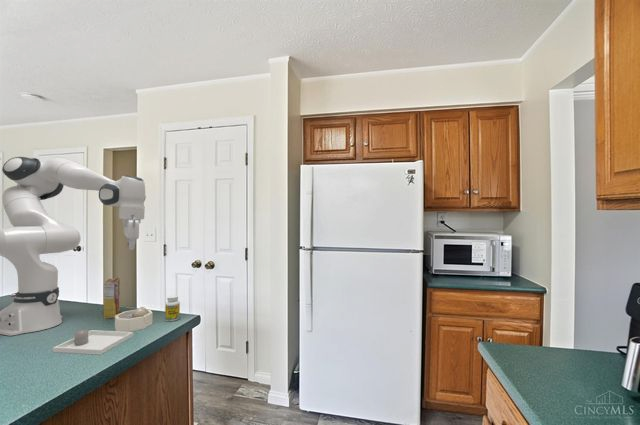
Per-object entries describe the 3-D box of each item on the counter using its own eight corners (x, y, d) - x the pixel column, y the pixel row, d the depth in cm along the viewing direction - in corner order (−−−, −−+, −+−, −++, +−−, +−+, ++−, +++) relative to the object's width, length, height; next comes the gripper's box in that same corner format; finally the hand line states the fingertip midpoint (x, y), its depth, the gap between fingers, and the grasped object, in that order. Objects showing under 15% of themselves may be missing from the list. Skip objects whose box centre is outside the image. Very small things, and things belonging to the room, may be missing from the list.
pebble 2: (129, 316, 111) (137, 309, 111) (135, 311, 115) (142, 305, 114) (136, 322, 112) (144, 316, 111) (141, 317, 115) (149, 311, 115)
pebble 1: (71, 345, 96) (71, 333, 96) (81, 340, 99) (81, 328, 99) (81, 346, 95) (81, 333, 95) (91, 341, 99) (91, 329, 99)
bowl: (107, 332, 108) (107, 318, 108) (130, 320, 120) (130, 308, 120) (137, 333, 107) (137, 320, 107) (157, 321, 119) (158, 309, 119)
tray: (52, 354, 91) (52, 347, 91) (91, 335, 105) (91, 330, 105) (100, 356, 89) (100, 350, 89) (133, 337, 103) (133, 332, 103)
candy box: (108, 312, 130) (109, 278, 130) (119, 311, 131) (120, 277, 132) (102, 319, 121) (103, 282, 122) (114, 317, 123) (115, 281, 123)
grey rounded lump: (122, 326, 112) (122, 315, 112) (128, 322, 115) (128, 312, 115) (132, 325, 112) (132, 315, 112) (137, 322, 116) (137, 312, 116)
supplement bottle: (178, 316, 126) (179, 294, 126) (180, 320, 121) (180, 297, 122) (164, 318, 123) (165, 295, 123) (165, 322, 118) (166, 299, 119)
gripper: (144, 215, 114) (142, 251, 114) (138, 214, 130) (136, 245, 130) (124, 215, 110) (123, 251, 110) (121, 214, 126) (119, 245, 126)
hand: (130, 248), depth 120 cm, fingers open, 8 cm apart
